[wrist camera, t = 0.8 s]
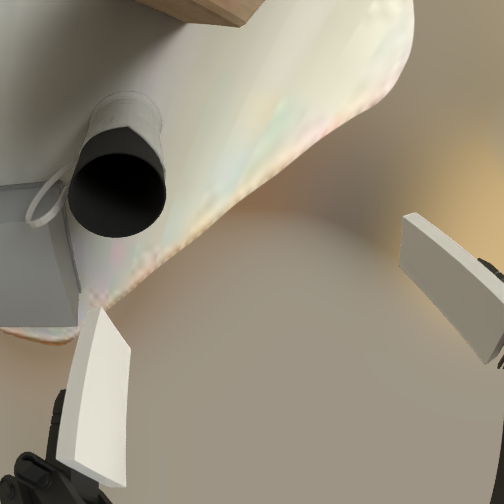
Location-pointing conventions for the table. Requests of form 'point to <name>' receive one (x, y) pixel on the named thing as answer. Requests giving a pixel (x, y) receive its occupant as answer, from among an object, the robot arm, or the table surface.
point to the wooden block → (207, 10)
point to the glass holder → (114, 170)
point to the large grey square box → (36, 261)
